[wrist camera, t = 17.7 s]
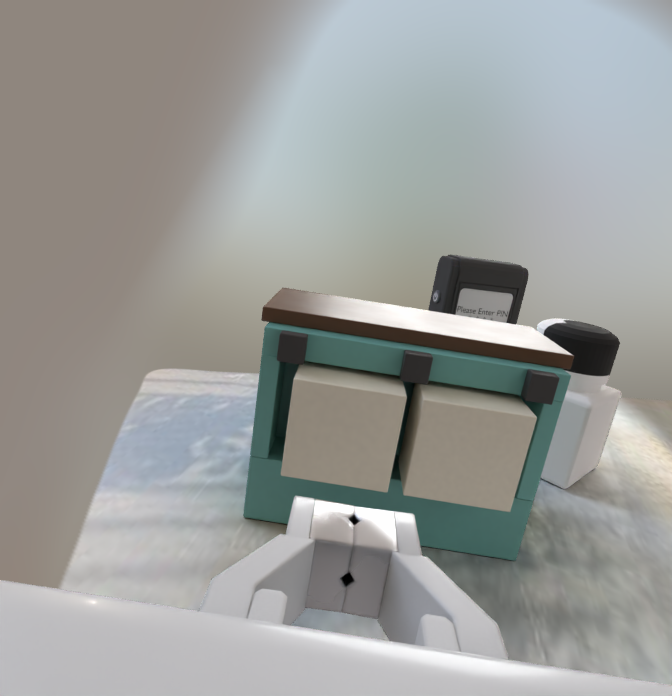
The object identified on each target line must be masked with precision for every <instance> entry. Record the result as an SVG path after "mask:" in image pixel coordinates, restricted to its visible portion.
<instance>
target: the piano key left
mask: <svg viewBox="0 0 672 696" xmlns="http://www.w3.org/2000/svg"><path fill="white" fill-rule="evenodd" d="M406 400H407V396H406V392H405V388H404V384H403V381H401V379H400V376H397V375H391V374H385V373H378V372H372V371H366V370H359V369H353V368H347V367H341V366H334V365H328V364H322V363H315V362H309V361H304V364H303V365H299V367H298V369H297V372H296V374H295V377H294V379H293V387H292V394H291V402H290V409H289V416H288V424H287V431H286V439H285V446H284V453H283V461H282V468H281V476H286V477H293V478H299V479H305V480H311V481H318V482H324V483H330V484H336V485H343V486H349V487H355V488H361V489H368V490H374V491H380V492H388V488H389V483H390V478H391V473H392V468H393V463H394V458H395V453H396V449H397V444H398V439H399V434H400V429H401V424H402V419H403V414H404V409H405V405H406Z"/></svg>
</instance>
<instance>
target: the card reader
mask: <svg viewBox="0 0 672 696" xmlns="http://www.w3.org/2000/svg"><path fill="white" fill-rule="evenodd" d="M527 281H528V270H527V269H526V268H523V267H522V266H520V265H517V264H513V263H508V262H500V261H494V260H486V259H479V258H472V257H464V256H458V255H448V256H442V257H441V258H440V260H439V263H438V267H437V271H436V276H435V281H434V286H433V291H432V296H431V300H430V305H429V310H428V311H434V312H440V313H447V314H453V315H459V316H466V317H472V318H478V319H485V320H491V321H497V322H504V323H510V324H516V323H517V319H518V315H519V311H520V308H521V304H522V300H523V296H524V292H525V288H526V284H527Z"/></svg>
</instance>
